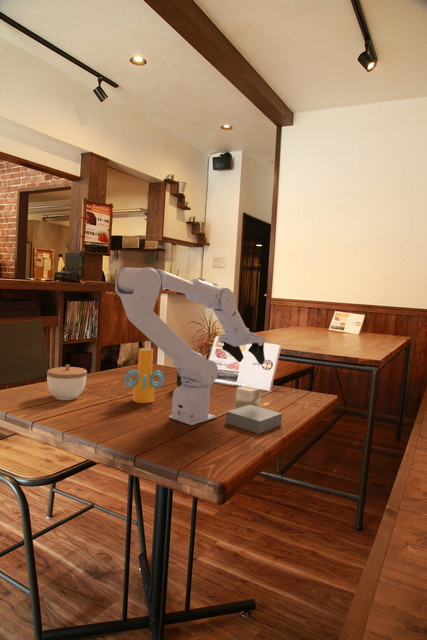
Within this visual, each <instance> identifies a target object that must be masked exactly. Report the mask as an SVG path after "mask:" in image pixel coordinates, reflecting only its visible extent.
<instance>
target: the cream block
mask: <svg viewBox="0 0 427 640" xmlns="http://www.w3.org/2000/svg"><path fill="white" fill-rule="evenodd" d="M261 399H262V388H260V387H259V388H258V387H255V386H252V385H243V386H238V387H236V396H235V408H234V409H237V408H240V407H243V406H247V405H253V406H257V407H260V408H261Z"/></svg>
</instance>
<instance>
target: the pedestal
mask: <svg viewBox="0 0 427 640" xmlns="http://www.w3.org/2000/svg"><path fill="white" fill-rule="evenodd" d="M225 418H226V419H225V424H227V425H231V426H234V427H237V428H240V429H244V430H246V431H249V432H253V433H256V434H259V435H260V434H262V433H264V432H268V431H269V430H273V429H275V428H277V427H280V426H282V420H283V419H282V418H283V413H282V412H279V411H274V410H271V409H267V408H264V407H261V406H260V407H257V406H253V405H247V406H243V407H240V408H237V409H236V408H233V409H231V410H227V411H226V417H225Z"/></svg>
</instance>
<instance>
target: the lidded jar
mask: <svg viewBox="0 0 427 640" xmlns="http://www.w3.org/2000/svg"><path fill="white" fill-rule="evenodd" d="M87 374H88V371H87V369H86V368H84V367H83V368H82V367H76V366H70V364H66V365H65V366H61V367H60V366H59V367H53V368H49V369H48V370H47V371H46V376H47V378H46V380H47V388H48V390H49V392H50V394H51V395H52V396H53V397H54V399H56V400H58V401H70V400H75V399H77V398H78V397H79V396H80V395H81V394H82V393H83V392H84V389H85V387H86V383H87V376H88V375H87Z"/></svg>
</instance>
